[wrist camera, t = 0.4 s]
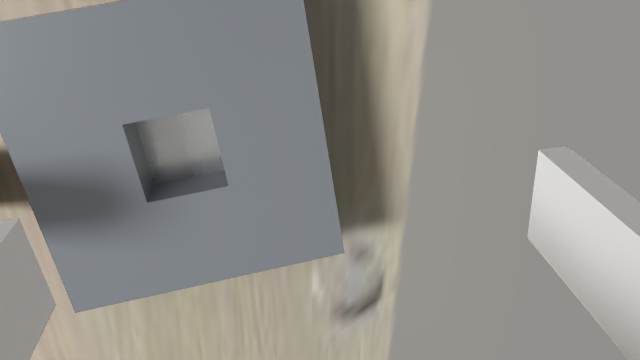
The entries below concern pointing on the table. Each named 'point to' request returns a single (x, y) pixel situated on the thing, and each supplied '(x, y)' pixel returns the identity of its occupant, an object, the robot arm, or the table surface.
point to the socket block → (168, 142)
